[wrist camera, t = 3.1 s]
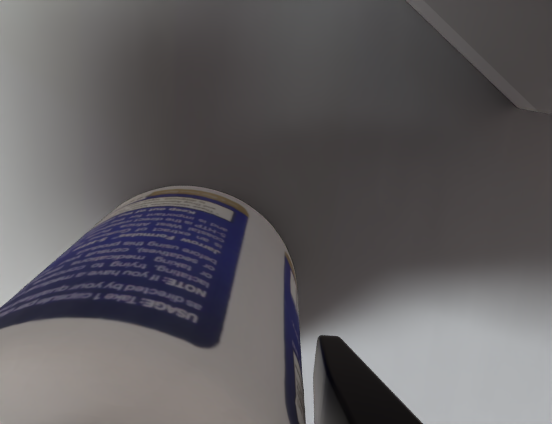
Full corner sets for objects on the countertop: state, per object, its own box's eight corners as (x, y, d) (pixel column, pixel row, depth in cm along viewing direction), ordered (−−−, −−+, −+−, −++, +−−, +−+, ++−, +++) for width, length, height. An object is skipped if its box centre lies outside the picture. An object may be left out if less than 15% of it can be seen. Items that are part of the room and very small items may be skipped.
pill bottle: (48, 281, 11) (-707, 964, 3) (183, 134, 10) (-433, 552, 1) (202, 402, 12) (17, 1153, 4) (341, 285, 11) (532, 1022, 2)
